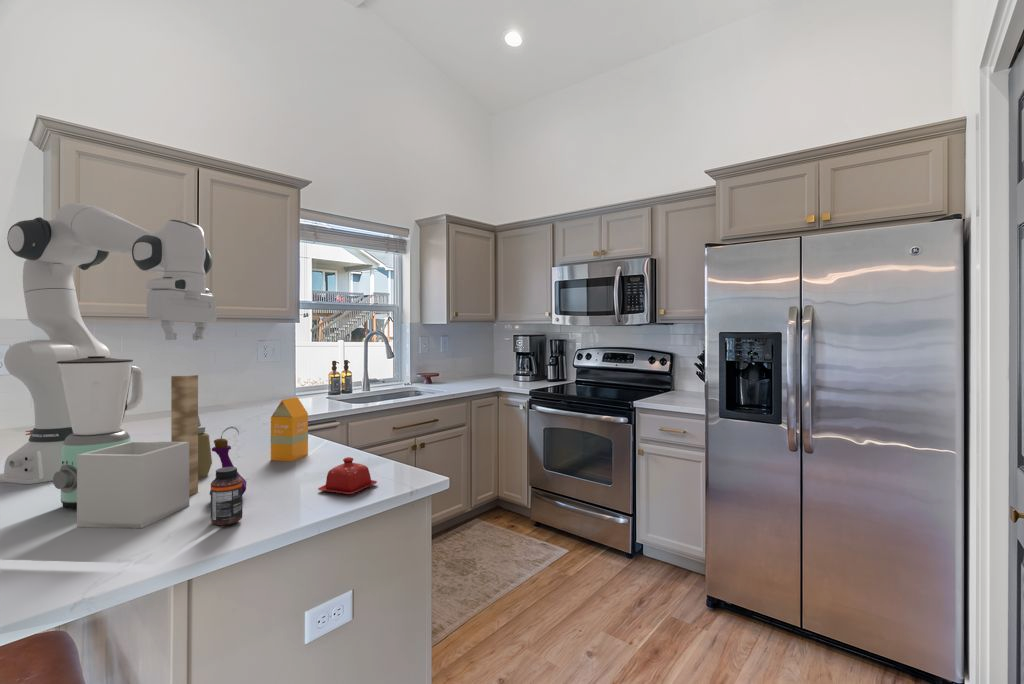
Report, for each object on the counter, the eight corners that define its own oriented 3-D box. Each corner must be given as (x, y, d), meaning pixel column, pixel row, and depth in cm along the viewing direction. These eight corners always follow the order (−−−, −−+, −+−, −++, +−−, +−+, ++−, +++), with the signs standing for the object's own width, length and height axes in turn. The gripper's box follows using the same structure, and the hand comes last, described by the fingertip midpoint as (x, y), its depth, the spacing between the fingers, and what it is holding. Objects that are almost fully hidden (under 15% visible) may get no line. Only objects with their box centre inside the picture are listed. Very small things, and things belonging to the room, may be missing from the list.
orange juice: (270, 462, 157) (270, 399, 157) (287, 456, 166) (287, 396, 166) (292, 463, 156) (292, 400, 156) (308, 457, 165) (308, 397, 165)
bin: (77, 526, 103) (76, 454, 103) (132, 504, 117) (132, 441, 117) (141, 528, 102) (141, 455, 102) (189, 505, 116) (189, 441, 116)
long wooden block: (171, 497, 123) (171, 376, 122) (183, 492, 127) (182, 375, 126) (186, 497, 122) (186, 376, 122) (198, 492, 126) (197, 375, 126)
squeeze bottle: (218, 474, 143) (218, 412, 143) (198, 482, 135) (198, 416, 135) (192, 473, 144) (192, 411, 144) (171, 481, 136) (171, 416, 136)
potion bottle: (209, 507, 115) (209, 430, 115) (211, 498, 121) (211, 425, 121) (246, 503, 118) (245, 427, 118) (246, 494, 125) (246, 423, 125)
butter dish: (314, 493, 126) (314, 460, 126) (345, 481, 137) (346, 451, 137) (350, 499, 122) (351, 464, 122) (380, 486, 133) (380, 454, 133)
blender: (81, 516, 109) (81, 357, 109) (35, 511, 112) (35, 357, 112) (160, 491, 127) (160, 355, 127) (119, 487, 130) (119, 354, 130)
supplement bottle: (219, 516, 109) (219, 465, 109) (247, 515, 109) (247, 464, 109) (204, 526, 103) (204, 472, 103) (234, 526, 104) (234, 472, 103)
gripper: (201, 289, 135) (201, 340, 135) (140, 280, 114) (140, 340, 114) (223, 289, 134) (223, 340, 135) (166, 280, 114) (166, 340, 114)
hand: (184, 340), depth 124 cm, fingers open, 8 cm apart
